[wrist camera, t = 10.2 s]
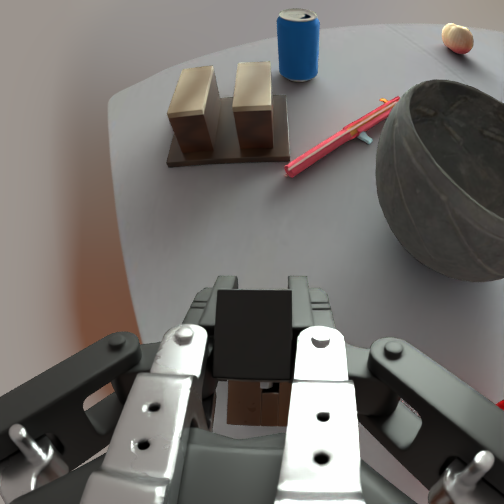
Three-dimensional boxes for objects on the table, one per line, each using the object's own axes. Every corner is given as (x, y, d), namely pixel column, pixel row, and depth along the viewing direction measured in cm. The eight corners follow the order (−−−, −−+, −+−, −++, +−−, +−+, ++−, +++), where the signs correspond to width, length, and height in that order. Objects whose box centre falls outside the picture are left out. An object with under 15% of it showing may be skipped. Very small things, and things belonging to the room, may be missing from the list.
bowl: (515, 221, 32) (573, 158, 18) (463, 345, 27) (558, 308, 13) (406, 134, 39) (434, 51, 25) (323, 229, 34) (343, 129, 20)
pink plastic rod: (407, 118, 41) (388, 96, 42) (414, 111, 39) (394, 89, 40) (299, 194, 37) (275, 165, 37) (303, 188, 35) (278, 157, 35)
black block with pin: (257, 386, 23) (210, 389, 7) (258, 349, 24) (217, 277, 8) (283, 387, 22) (291, 392, 7) (284, 349, 24) (292, 277, 8)
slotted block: (168, 167, 40) (147, 124, 32) (184, 106, 45) (171, 66, 37) (289, 161, 38) (289, 113, 31) (286, 99, 43) (284, 55, 36)
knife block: (240, 414, 27) (226, 424, 19) (244, 324, 30) (231, 303, 23) (304, 415, 26) (312, 426, 19) (305, 324, 30) (313, 304, 22)
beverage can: (316, 86, 44) (318, 23, 33) (276, 82, 45) (272, 20, 35) (318, 67, 47) (320, 9, 36) (282, 63, 48) (279, 6, 37)
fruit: (456, 44, 52) (463, 21, 45) (473, 61, 49) (482, 36, 41) (433, 40, 52) (439, 15, 45) (450, 56, 49) (458, 30, 42)
